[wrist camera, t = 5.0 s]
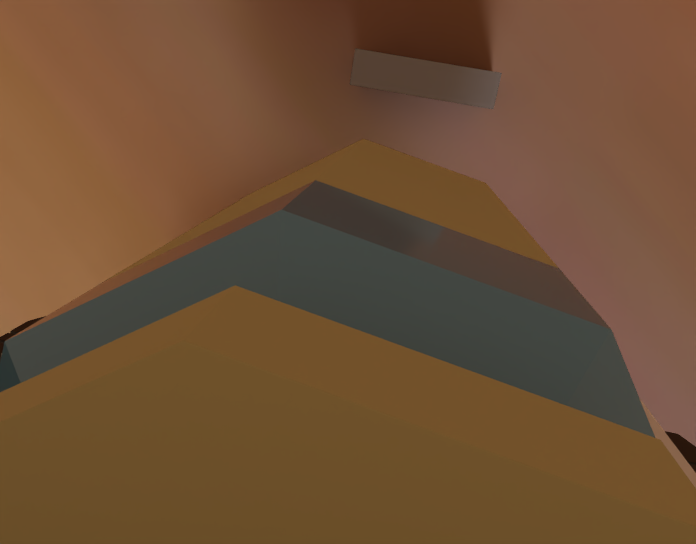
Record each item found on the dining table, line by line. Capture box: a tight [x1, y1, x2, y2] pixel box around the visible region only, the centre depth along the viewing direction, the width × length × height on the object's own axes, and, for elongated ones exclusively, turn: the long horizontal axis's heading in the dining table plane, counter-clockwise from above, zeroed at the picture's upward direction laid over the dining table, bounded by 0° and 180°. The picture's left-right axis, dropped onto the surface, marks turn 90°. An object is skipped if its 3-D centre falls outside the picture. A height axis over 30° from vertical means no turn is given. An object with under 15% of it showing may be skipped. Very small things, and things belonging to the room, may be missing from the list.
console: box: [350, 48, 502, 109], centre depth 25 cm, size 12×28×8 cm, turn 171°
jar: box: [0, 139, 696, 544], centre depth 12 cm, size 9×9×15 cm
